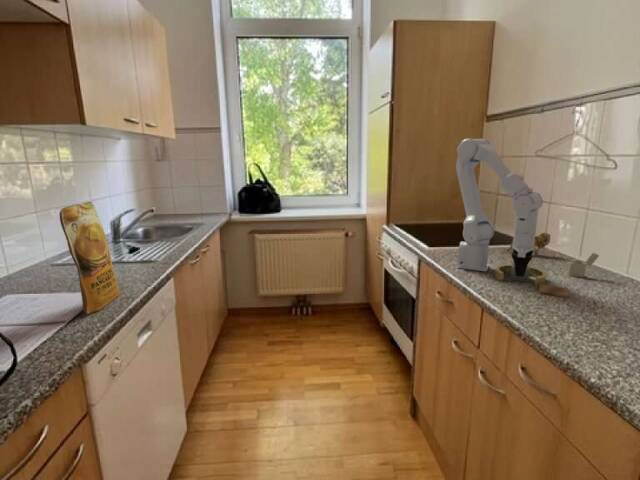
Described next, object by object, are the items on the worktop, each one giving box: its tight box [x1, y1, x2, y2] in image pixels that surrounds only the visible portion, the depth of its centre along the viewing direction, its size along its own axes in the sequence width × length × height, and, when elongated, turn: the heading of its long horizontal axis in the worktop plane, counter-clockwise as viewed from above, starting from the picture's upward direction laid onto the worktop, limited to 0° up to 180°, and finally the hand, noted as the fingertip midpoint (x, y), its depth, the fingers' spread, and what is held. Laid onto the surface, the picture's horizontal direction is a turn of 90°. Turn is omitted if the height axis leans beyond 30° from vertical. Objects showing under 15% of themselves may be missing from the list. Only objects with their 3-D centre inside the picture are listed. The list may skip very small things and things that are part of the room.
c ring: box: [494, 264, 547, 287], centre depth 119 cm, size 14×15×2 cm
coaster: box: [538, 284, 569, 299], centre depth 106 cm, size 7×7×1 cm
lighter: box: [567, 252, 600, 278], centre depth 117 cm, size 7×2×8 cm, turn 68°
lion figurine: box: [506, 232, 551, 257], centre depth 143 cm, size 15×5×9 cm, turn 68°
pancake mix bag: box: [59, 201, 121, 315], centre depth 100 cm, size 7×19×28 cm, turn 3°
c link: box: [509, 263, 531, 283], centre depth 116 cm, size 5×4×4 cm
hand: (520, 273), depth 116 cm, fingers open, 4 cm apart
